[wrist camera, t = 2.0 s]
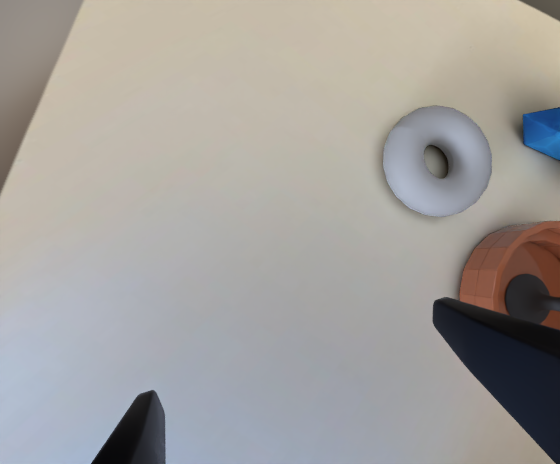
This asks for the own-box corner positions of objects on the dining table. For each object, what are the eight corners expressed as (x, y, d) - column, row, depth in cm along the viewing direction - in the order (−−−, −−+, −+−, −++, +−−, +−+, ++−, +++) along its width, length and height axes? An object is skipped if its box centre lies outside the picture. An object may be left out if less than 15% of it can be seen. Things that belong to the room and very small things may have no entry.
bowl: (591, 368, 29) (647, 384, 25) (463, 384, 27) (503, 406, 23) (572, 224, 31) (622, 219, 27) (448, 228, 28) (484, 223, 24)
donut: (462, 230, 29) (478, 133, 30) (493, 227, 25) (510, 117, 26) (365, 203, 27) (386, 102, 28) (385, 196, 24) (407, 81, 25)
